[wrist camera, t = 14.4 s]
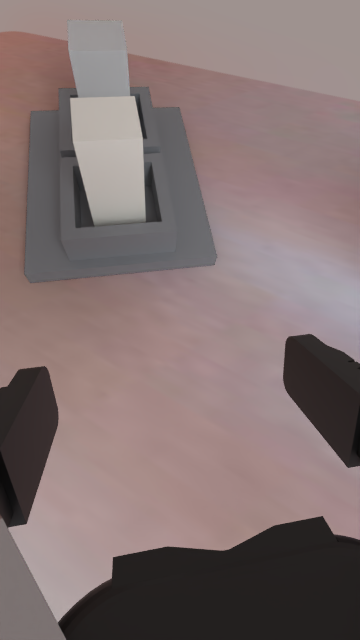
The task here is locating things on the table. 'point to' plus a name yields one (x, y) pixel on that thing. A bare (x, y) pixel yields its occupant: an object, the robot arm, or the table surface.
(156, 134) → the housing
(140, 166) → the tall white pillar
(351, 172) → the table surface
